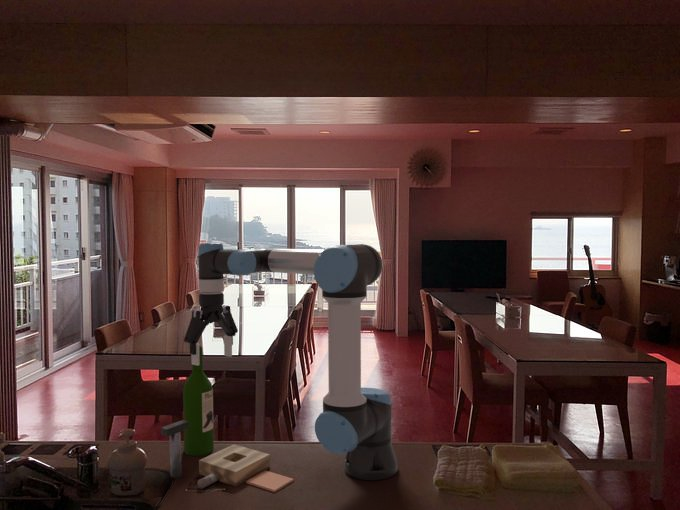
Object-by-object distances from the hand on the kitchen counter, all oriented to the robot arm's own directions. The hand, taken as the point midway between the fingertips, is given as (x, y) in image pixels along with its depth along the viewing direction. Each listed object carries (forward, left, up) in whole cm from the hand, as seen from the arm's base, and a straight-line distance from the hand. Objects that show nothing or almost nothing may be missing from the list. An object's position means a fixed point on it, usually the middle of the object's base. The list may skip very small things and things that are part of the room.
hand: (212, 360), depth 178 cm
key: (-5, +20, -28) cm, 35 cm away
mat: (-30, +9, -28) cm, 42 cm away
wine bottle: (+3, +4, -28) cm, 29 cm away
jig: (-17, +11, -28) cm, 35 cm away
